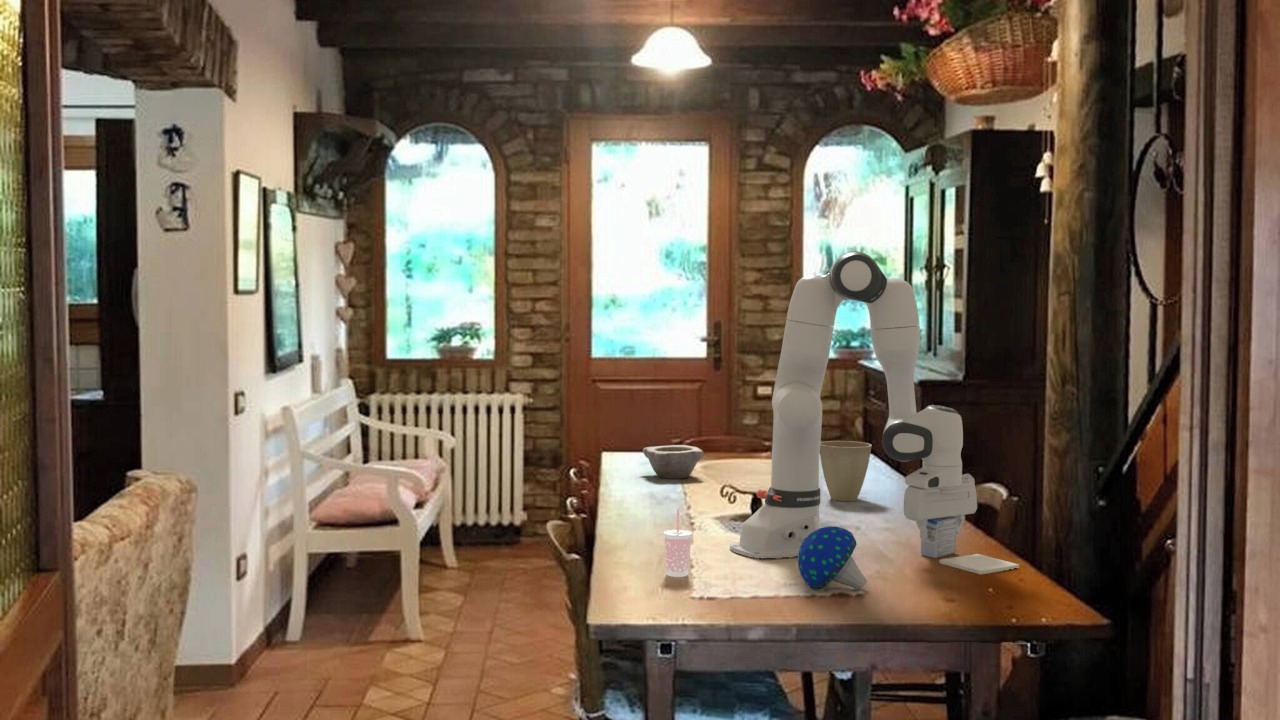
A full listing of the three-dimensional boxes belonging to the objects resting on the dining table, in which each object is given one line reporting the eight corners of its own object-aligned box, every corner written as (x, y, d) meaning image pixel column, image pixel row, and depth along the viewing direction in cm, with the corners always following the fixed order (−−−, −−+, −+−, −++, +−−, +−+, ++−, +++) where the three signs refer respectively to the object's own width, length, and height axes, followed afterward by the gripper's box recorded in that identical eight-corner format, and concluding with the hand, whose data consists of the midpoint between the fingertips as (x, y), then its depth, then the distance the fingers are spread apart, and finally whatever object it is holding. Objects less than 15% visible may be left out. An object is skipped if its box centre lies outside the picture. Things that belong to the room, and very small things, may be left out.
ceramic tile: (980, 574, 265) (980, 570, 265) (939, 563, 276) (939, 559, 275) (1019, 568, 272) (1019, 564, 272) (977, 557, 282) (977, 553, 282)
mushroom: (891, 558, 245) (831, 511, 246) (849, 615, 243) (789, 568, 244) (876, 556, 259) (819, 512, 260) (836, 611, 257) (779, 566, 258)
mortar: (639, 473, 395) (639, 445, 394) (689, 471, 400) (690, 443, 399) (654, 482, 379) (655, 452, 378) (706, 480, 384) (707, 450, 383)
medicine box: (939, 550, 288) (940, 513, 288) (956, 553, 285) (957, 516, 284) (920, 555, 283) (921, 517, 282) (936, 558, 280) (937, 520, 279)
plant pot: (881, 500, 352) (882, 445, 350) (843, 505, 343) (844, 448, 342) (844, 492, 364) (845, 439, 363) (806, 497, 356) (807, 442, 354)
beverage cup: (662, 570, 266) (663, 506, 265) (691, 571, 265) (692, 506, 264) (662, 577, 260) (663, 511, 259) (691, 578, 259) (692, 512, 258)
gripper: (963, 471, 291) (962, 529, 292) (899, 477, 280) (898, 538, 281) (984, 475, 285) (982, 534, 286) (919, 482, 275) (918, 543, 275)
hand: (940, 536), depth 283 cm, fingers closed on medicine box, 8 cm apart
